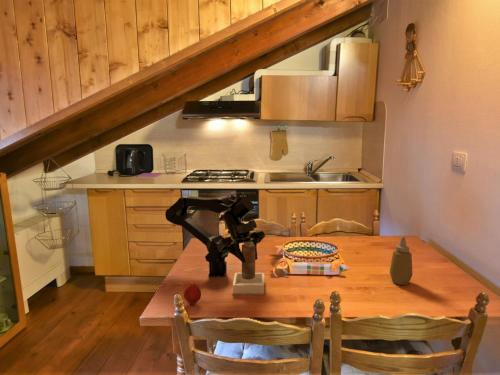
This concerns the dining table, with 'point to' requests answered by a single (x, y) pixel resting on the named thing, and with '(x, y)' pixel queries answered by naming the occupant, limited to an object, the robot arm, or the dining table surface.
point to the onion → (192, 294)
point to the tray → (248, 285)
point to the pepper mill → (248, 260)
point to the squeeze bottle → (401, 264)
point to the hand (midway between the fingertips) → (250, 261)
